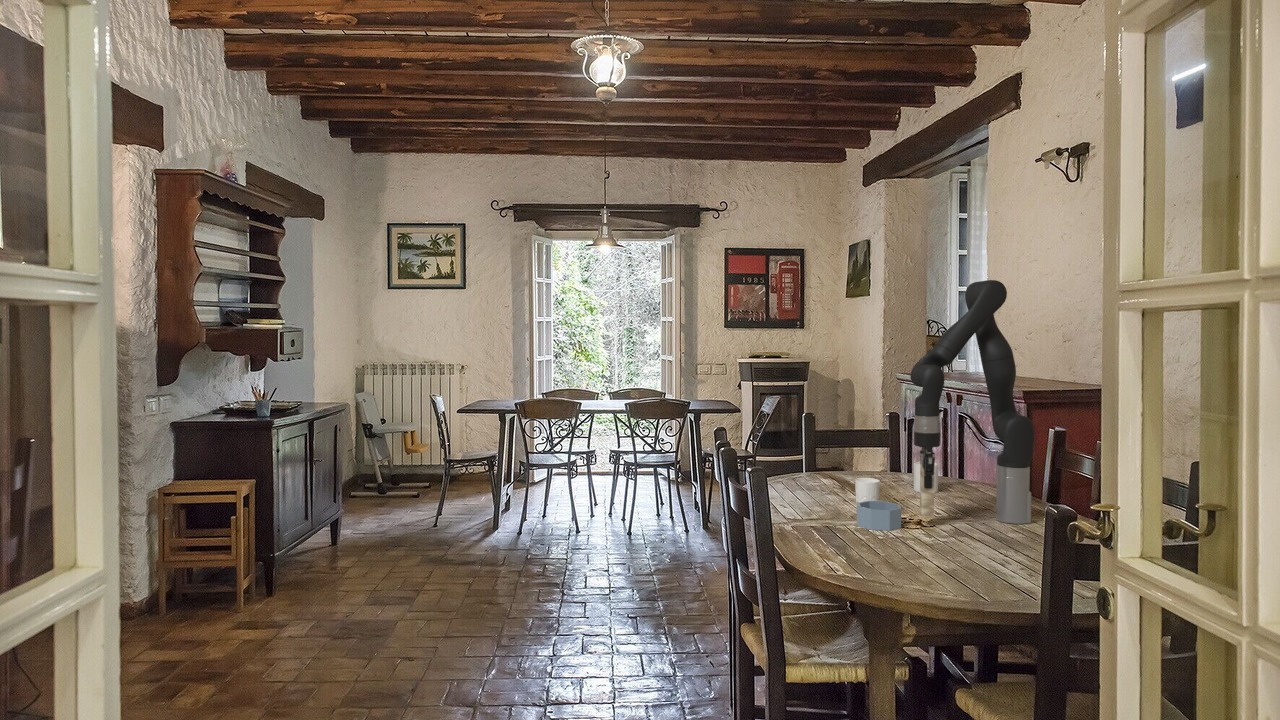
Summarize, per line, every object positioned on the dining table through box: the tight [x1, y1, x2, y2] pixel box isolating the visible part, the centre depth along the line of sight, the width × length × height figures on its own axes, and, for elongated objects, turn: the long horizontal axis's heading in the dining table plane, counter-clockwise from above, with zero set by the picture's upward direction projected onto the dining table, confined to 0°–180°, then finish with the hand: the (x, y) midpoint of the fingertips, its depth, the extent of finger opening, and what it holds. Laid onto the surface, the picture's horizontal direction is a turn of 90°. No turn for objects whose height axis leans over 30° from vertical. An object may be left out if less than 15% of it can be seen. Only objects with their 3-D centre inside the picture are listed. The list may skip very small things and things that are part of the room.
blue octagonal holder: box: [856, 500, 902, 532], centre depth 243 cm, size 13×13×6 cm
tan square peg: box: [919, 465, 935, 518], centre depth 241 cm, size 4×4×15 cm
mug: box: [913, 461, 939, 494], centre depth 291 cm, size 12×8×10 cm
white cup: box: [854, 477, 881, 505], centre depth 262 cm, size 8×8×10 cm
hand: (927, 486), depth 241 cm, fingers closed on tan square peg, 3 cm apart
